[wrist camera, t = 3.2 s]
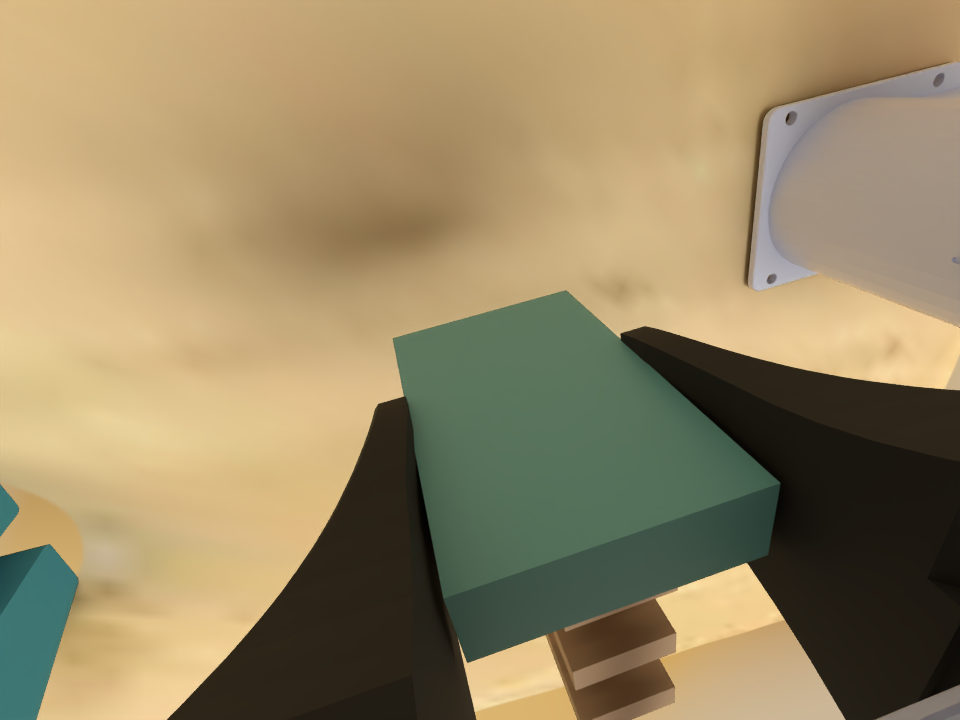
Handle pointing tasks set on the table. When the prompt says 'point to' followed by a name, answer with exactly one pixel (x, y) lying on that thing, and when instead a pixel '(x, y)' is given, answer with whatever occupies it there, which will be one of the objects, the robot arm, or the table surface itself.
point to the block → (29, 620)
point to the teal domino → (567, 473)
